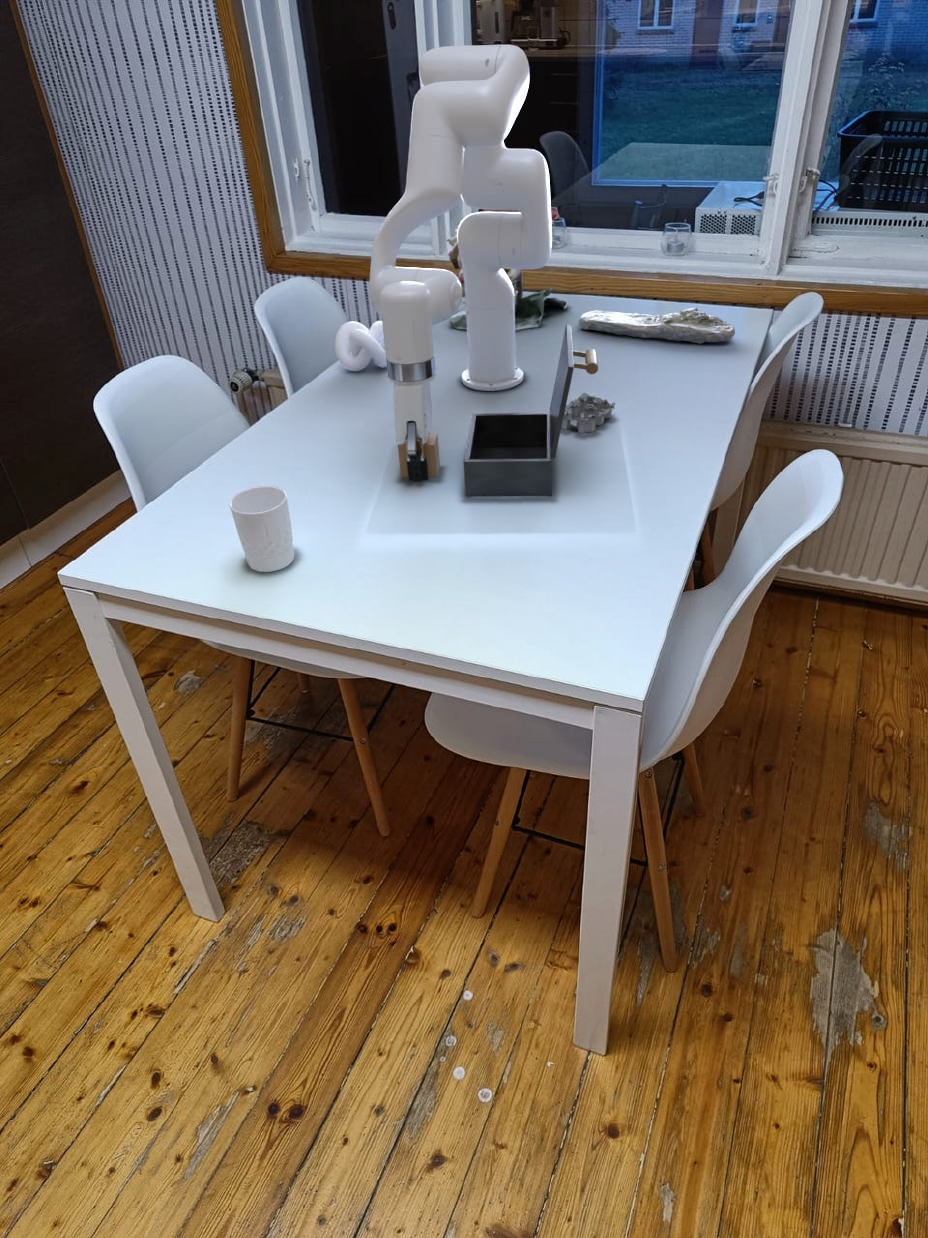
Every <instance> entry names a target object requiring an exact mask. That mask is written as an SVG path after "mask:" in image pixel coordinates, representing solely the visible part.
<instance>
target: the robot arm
mask: <svg viewBox="0 0 928 1238" xmlns="http://www.w3.org/2000/svg"><path fill="white" fill-rule="evenodd" d="M418 74H419V80H420V84H421V88H420V89H418V91H417V93H416V94H415V95H414V98H413V103H412V111H411V122H410V134H409V147H408V159H407V168H406V169H407V170H406V181H405V188H404V189H405V190H404V193H403V195H402V196H401V198H400V199H399V200H398V202H397V203H396V204H395V205H394V206H393V207H392V209H390V211H389V212H388V214H387V215H386V217H385V219H383V221H382V223H381V224H380V227H379V229H378V231H377V233H376V235H375V238H374V239H373V240H374V241H373V244H372V248H371V254H370V255H371V256H370V268H369V269H370V270H369V281H368V282H369V283H368V285H369V286H368V288H369V289H368V291H369V292H368V294H369V300H370V303H371V306H372V309H373V310H374V311H375V312H376V313H377V315H379V316H380V317H381V321H382V325H383V334H384V340H383V342H384V351H385V353H386V363H387V366H386V371H387V379H388V381H389V382H390V383H391V384H393V402H394V403H393V405H394V406H393V407H394V408H393V409H394V423H395V438H396V440H395V441H396V444H397V445H398V444H399V445H401V444H404V441H405V438H406V448H407V469H408V477H407V478H408V481H429V477H428V470H427V459H425V454H424V444H425V443H426V442H427V440H428V436H429V433H431V427H432V423H433V405H432V404H433V403H432V391H431V381H433V380H435V378H436V377H437V369H436V354H435V342H434V340H435V339H434V327H433V326H435V325H437V324H440V323H443V322H445V321H447V320H450V318H451V317H452V316H454V315H455V314H457V311H458V310H459V308H460V306H461V304H462V301H463V297H462V287H461V283H460V281H459V279H458V277H457V276H456V275H457V274H456V273H454V272H453V271H450V270H447V269H443V268H423V267H406V266H405V267H404V266H396V263H397V259H398V258H397V257H398V254H399V251H400V248H401V247H402V244H403V243H404V241H405V240H406V239H407V237H408V236H409V235H410V234H412V232H414V231H415V230H416V229H417V228H419V227H421V226H422V225H424V224H426V223H427V222H430V221H432V220H433V219H435V218H437V217H439V216H442V215H444V214H446V213H449V212H451V211H452V210H453V209H455V208H456V207H457V206H458V205H459V203H460V202H461V200H462V201H463V203H464V204H465V205H466V206H467V207H469V208H472V209H478V210H483V209H493V210H518V211H520V213H513V212H483V211H478V212H473V213H470V214H468V215H466V216H464V217H465V218H464V217H463V218H464V219H463V218H462V219H463V220H462V219H461V220H462V221H461V220H460V221H461V223H460V225H459V226H458V227H457V229H458V232H457V243H458V249H459V254H460V258H461V263H462V268H463V275H464V285H465V297H464V299H465V310H466V321H467V329H466V337H467V339H466V340H467V360H468V368H467V369H465V370H464V371H463V372H462V374H461V382H462V384H463V385H464V386H465V387H467V388H470V389H472V390H476V391H484V392H495V391H497V392H498V391H503V390H504V391H505V390H508V389H512V388H514V387H516V386H518V385H519V384H521V383H522V382H523V380H524V372H523V370H522V369H521V368H520V367H519V366H517V365H516V363H517V362H516V330H515V295H514V289H513V285H512V283H511V281H510V279H509V277H508V276H507V274H506V273H505V271H504V270H503V269H521V270H538V269H541V268H544V267H545V266H546V265H547V264H548V262H549V260H550V258H551V254H552V248H553V244H552V240H553V231H552V230H553V229H552V228H553V227H552V223H551V207H552V206H551V185H550V172H549V166H548V163H547V160H546V158H545V156H544V155H543V154H542V153H541V152H540V151H538V150H536V149H533V148H532V149H531V148H508V147H506V145H505V142H504V140H505V139H506V138H507V136H508V135H509V133H510V131H511V129H512V127H513V125H514V124H515V121H516V118H517V117H518V115H519V113H520V110H521V108H522V106H523V104H524V102H525V100H526V97H527V94H528V90H529V87H530V86H529V85H530V65H529V61H528V58H527V55H526V53H525V52H524V50H523V49H522V48H520V47H519V46H518V45H513V44H482V45H476V44H475V45H471V44H467V45H446V46H439V47H433V48H431V49H429V50H427V51H426V52H424V53H423V54H422V56H421V57H420V60H419V64H418ZM455 274H456V275H455ZM416 438H421V441H416ZM416 446H420V451H419V450H417V447H416Z"/></svg>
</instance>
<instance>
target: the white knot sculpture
mask: <svg viewBox="0 0 928 1238" xmlns="http://www.w3.org/2000/svg"><path fill="white" fill-rule="evenodd" d="M383 342H384V334H383V325H382V320H376V321H375V322H374V323H372V324H371V326H370V328H368V327H366V326H365V325H364V324H363V323H361V322H358V321H355V320H353V321H352V320H351V321H348V322H347V321H346V322H345V323H343V324H342V325H341V326H340V327H339V329H338V330H337V333H336V335H335V339H334V350H335V356H336V357H337V360H338V361H339V364H340V365H341V366H342V367H343V368H345V369H346V370H348V371H351V372H360V371H362V370H364V369H365V368H366V367H367V366H368V365H369V364H370V363H371V362H372V361H373V362H374V363H375V365H376V366H377V367H379V368H387V363H386V353H385V348H383V346H381V345H382V344H383Z"/></svg>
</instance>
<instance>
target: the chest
mask: <svg viewBox="0 0 928 1238" xmlns="http://www.w3.org/2000/svg"><path fill="white" fill-rule="evenodd" d="M463 474H464V491H465V492H464V493H465V494H464V495H465V497H466V498H467V497H471V498H473V497H474V498H475V497H552V496H553V458H550V411H547V412H546V411H545V412H542V411H541V412H494V413H493V412H491V413H490V412H489V413H488V412H487V413H486V412H485V413H483V412H482V413H471V416H470V421H469V427H468V434H467V440H466V445H465V452H464V458H463Z"/></svg>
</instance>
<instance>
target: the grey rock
mask: <svg viewBox="0 0 928 1238" xmlns="http://www.w3.org/2000/svg"><path fill="white" fill-rule="evenodd" d="M615 405H616V403H615V402H612V403H610V402H609V401H608V399H606V398H605V399H602V397H597V396H596V395H593V396H591V395H590V394H588V393H586V392H582V393H581V394H580V395H579V396H578V397H577V399H574V400H571V401H570V402H569V403H568V404H566V408H565V413H564V418H563V422H562V427H561V430H562V429H563V430H569V429H576V430H578V433H581V434H586V433H593V432H594V431H596V426H602V425H603V424H604V422H605V419H610V418H612V413H613V410H615ZM575 419H578V420H575Z"/></svg>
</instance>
